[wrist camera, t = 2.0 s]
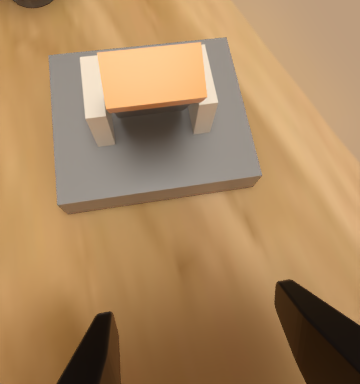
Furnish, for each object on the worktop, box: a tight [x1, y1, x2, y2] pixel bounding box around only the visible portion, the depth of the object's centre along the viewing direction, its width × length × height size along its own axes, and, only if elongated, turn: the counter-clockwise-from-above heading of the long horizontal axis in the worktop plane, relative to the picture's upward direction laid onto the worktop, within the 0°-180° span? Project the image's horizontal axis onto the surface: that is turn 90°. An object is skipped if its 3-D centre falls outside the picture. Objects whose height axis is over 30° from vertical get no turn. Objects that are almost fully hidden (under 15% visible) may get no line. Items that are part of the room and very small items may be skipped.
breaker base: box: [49, 37, 262, 214], centre depth 23 cm, size 12×14×6 cm
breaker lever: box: [97, 42, 207, 118], centre depth 18 cm, size 2×5×9 cm, turn 100°
